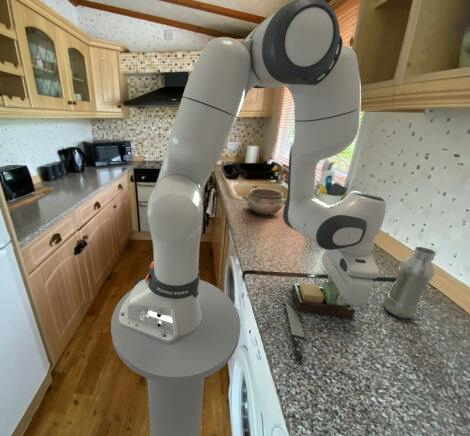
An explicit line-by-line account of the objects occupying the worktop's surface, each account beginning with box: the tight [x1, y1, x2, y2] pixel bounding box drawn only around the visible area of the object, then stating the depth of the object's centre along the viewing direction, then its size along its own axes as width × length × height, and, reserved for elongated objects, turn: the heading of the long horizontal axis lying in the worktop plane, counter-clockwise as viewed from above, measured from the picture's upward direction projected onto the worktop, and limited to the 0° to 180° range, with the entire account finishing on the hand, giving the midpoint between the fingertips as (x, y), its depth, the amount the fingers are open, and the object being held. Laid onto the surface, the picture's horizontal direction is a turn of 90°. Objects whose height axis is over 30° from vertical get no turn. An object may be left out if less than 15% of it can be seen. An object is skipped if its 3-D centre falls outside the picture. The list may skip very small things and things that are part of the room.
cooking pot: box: [241, 187, 287, 216], centre depth 134 cm, size 25×19×12 cm
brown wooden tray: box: [291, 282, 356, 320], centre depth 70 cm, size 14×9×3 cm, turn 78°
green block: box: [322, 281, 348, 307], centre depth 68 cm, size 5×5×4 cm
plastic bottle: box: [383, 246, 437, 319], centre depth 64 cm, size 6×7×20 cm
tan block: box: [299, 282, 324, 304], centre depth 70 cm, size 5×5×4 cm
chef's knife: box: [284, 301, 306, 361], centre depth 62 cm, size 19×1×3 cm
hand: (334, 294), depth 68 cm, fingers closed on green block, 5 cm apart
